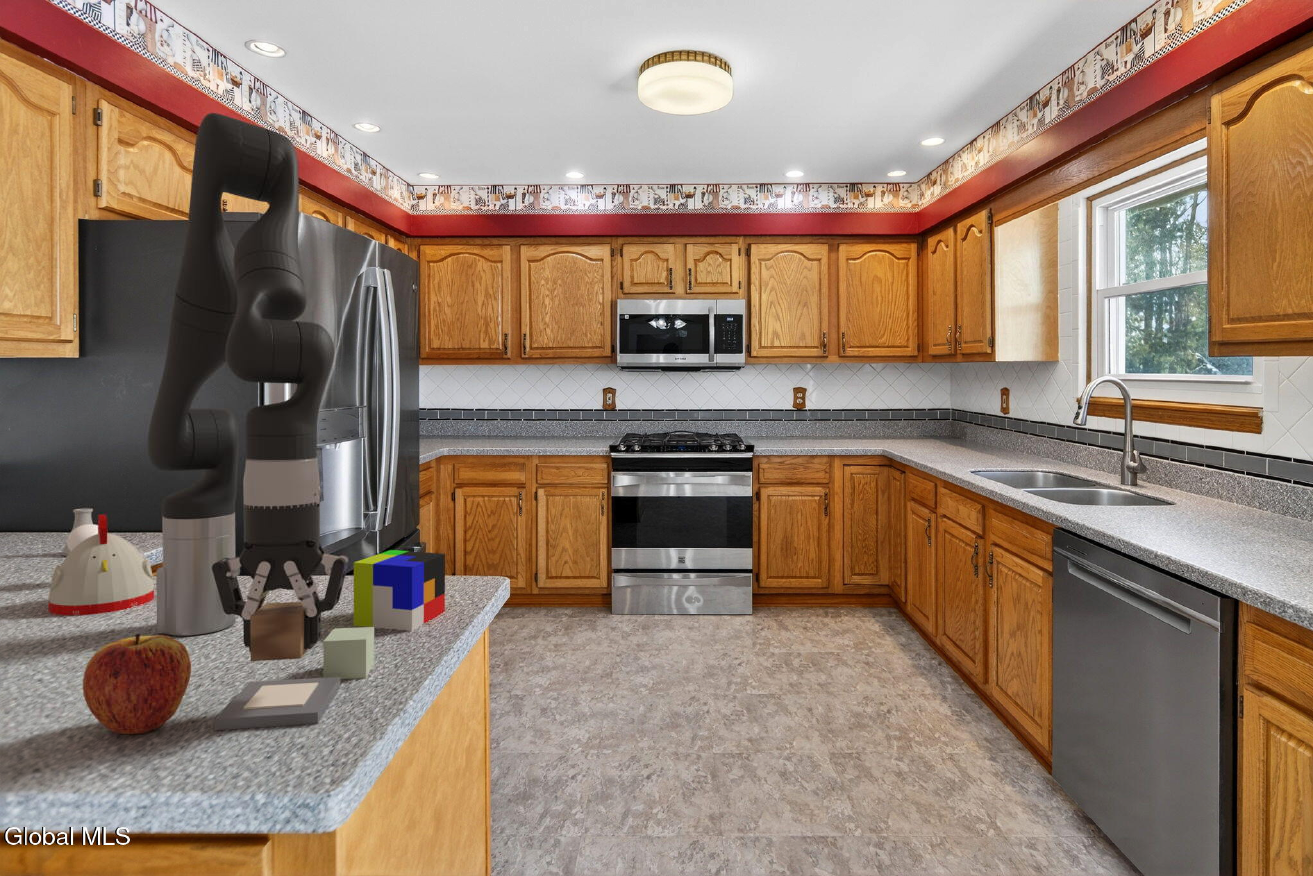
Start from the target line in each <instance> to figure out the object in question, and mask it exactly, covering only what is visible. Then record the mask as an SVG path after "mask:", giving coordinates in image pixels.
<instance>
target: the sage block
mask: <svg viewBox="0 0 1313 876" xmlns="http://www.w3.org/2000/svg"><path fill="white" fill-rule="evenodd" d="M322 650H323V678H328V677H340V680H349V679H352V680H353V679H366V678H367V677H368V675H369V673H370V671H371V670H372V668H373V666H374V664H375V628H374V627H344V628H343V627H341V628H340V627H339V628H333V629H332V630H331V631H330V633H329V634H328V635H327V636H326V637H325V639H324V640H323V649H322Z"/></svg>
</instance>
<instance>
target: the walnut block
mask: <svg viewBox="0 0 1313 876" xmlns="http://www.w3.org/2000/svg"><path fill="white" fill-rule="evenodd" d="M305 617H306V613H305V611H304V608H303V606H302V603H301V601H289V602H287V601H286V602H266V603H265V604H263V606H262V607H261V608H260V609H258V610H257V611H256V612H255V613H253V614H252V615H251V616H250V632H251V652H250V662H262V661H265V662H266V661H277V660H278V661H282V660H301V658H302V657H303V656H304V655H305V654H306V653H307V651H308V650H309V649H304V618H305Z"/></svg>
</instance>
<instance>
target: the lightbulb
mask: <svg viewBox="0 0 1313 876" xmlns="http://www.w3.org/2000/svg"><path fill="white" fill-rule="evenodd" d="M71 531H72V530H71ZM71 531H70V533H69V534H68V537H67V538H66V543H67V546H68V548H69V550H70V551H72V550H73V549H74V548H75V547H76V546H77V545H78V544H80V543H81V542H82V541H84V540H85V539H87V538H89V537H91V536H93V535H96V534H98V524H94V523H93V524H86V525H82V526H79V527H77V528H75V529H74V530H73V531H72V532H71Z"/></svg>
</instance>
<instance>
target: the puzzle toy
mask: <svg viewBox="0 0 1313 876" xmlns="http://www.w3.org/2000/svg"><path fill="white" fill-rule="evenodd" d="M445 597H446V553H441V552H428V551H412V550H398V549H397V550H396V549H395V550H394V549H390V550H387V551H384V552H381V553H379V554H376V555H372V556H369V557H366V558H363V559H360V560H357V561H354V562H353V626H354V627H360V626H364V627H374V629H381V628H385V629H386V630H392V629H399V630H398V631H403V630H407V631H406V632H414V631H415V630H417V629H419V628H420V627H422V626H423V625H422V624H424V623H426V622H427V623H429V622H430V621H429V620H431V621H432V619H433V618H434V619H436V618H438V617H439V616H438V615H440V614H441V613H443V612H445V611H446V610H445V608H446V603H445V601H446V598H445ZM445 613H446V612H445ZM443 614H444V613H443ZM441 615H442V614H441ZM441 615H440V616H441ZM437 616H438V617H437ZM435 617H436V618H435ZM434 619H433V620H434ZM428 621H429V622H428ZM427 623H426V624H427ZM421 625H422V626H421ZM424 625H425V624H424ZM419 626H420V627H419ZM418 627H419V628H418ZM416 628H417V629H416ZM385 629H384V630H385ZM400 629H401V630H400ZM414 629H415V630H414Z"/></svg>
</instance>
